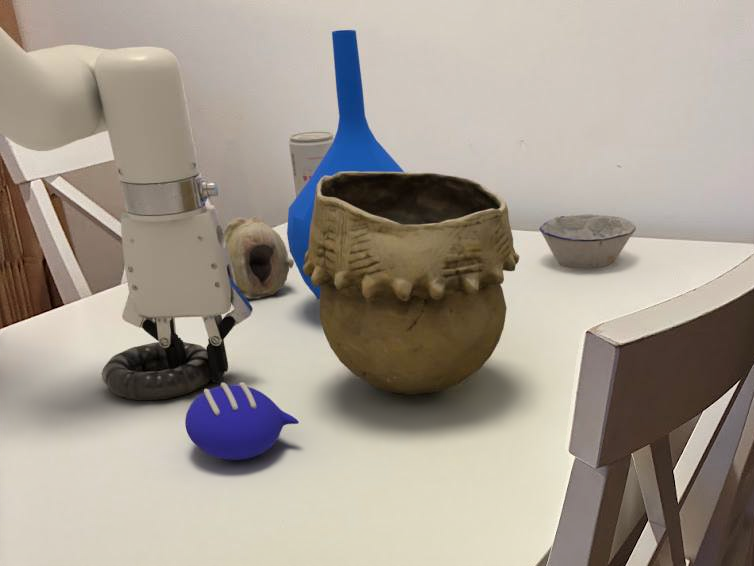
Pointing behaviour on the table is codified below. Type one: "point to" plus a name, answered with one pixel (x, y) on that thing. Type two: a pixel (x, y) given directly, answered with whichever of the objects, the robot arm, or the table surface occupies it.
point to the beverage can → (307, 155)
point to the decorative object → (235, 422)
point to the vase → (339, 147)
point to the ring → (135, 382)
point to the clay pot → (410, 275)
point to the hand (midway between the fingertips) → (200, 376)
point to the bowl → (587, 239)
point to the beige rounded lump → (257, 257)
